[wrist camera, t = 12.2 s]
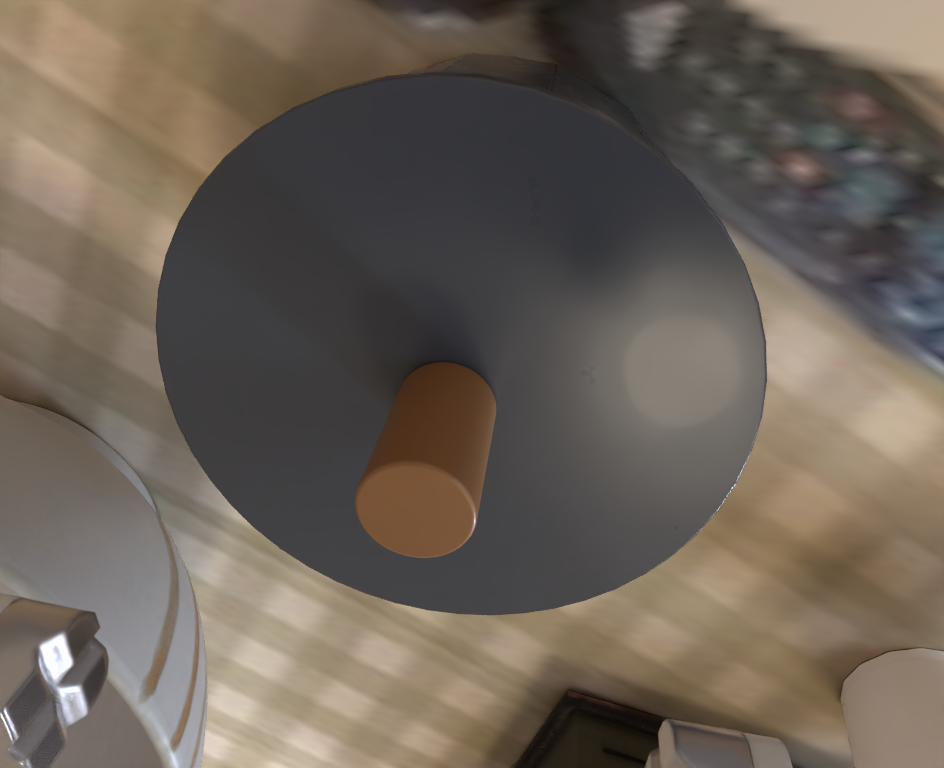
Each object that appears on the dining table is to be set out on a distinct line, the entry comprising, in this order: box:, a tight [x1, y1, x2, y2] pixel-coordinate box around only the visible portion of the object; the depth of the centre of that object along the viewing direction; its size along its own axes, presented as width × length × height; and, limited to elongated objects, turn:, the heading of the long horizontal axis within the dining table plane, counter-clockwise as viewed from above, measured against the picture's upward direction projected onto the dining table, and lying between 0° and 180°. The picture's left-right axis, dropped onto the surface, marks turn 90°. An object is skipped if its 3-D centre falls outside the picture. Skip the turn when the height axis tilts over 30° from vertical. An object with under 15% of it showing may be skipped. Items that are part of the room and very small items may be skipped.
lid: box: [156, 72, 767, 615], centre depth 15 cm, size 15×15×5 cm
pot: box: [408, 53, 654, 147], centre depth 21 cm, size 14×14×10 cm
